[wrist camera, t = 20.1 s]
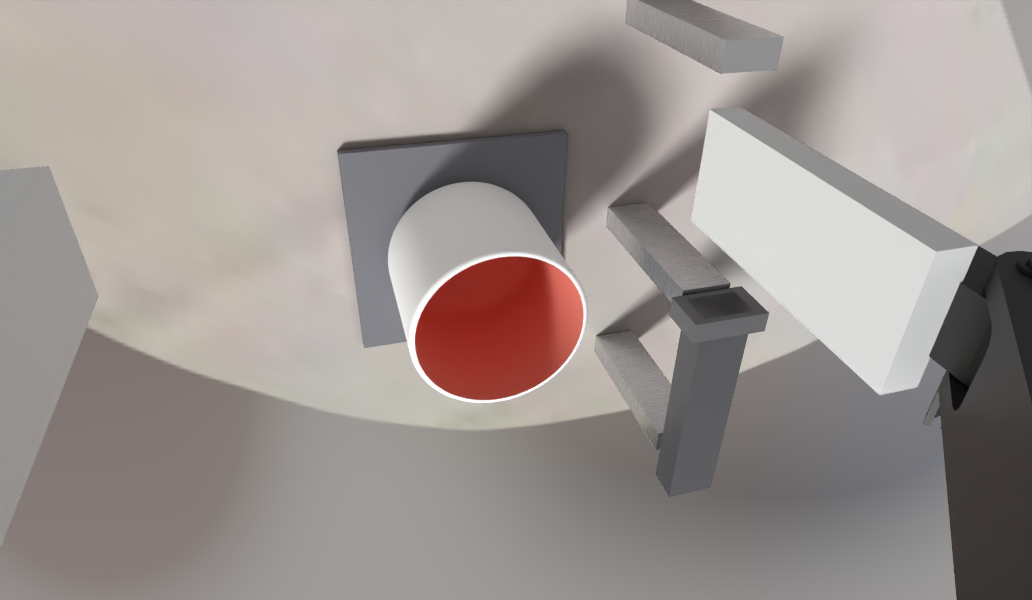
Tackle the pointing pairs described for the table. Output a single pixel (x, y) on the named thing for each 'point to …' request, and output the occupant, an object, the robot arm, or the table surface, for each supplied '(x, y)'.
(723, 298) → the bar
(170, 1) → the table surface
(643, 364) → the posts
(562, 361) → the cup
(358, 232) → the mat
